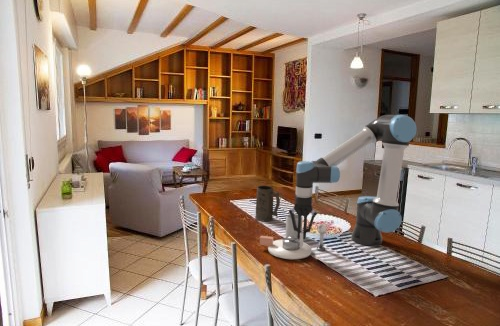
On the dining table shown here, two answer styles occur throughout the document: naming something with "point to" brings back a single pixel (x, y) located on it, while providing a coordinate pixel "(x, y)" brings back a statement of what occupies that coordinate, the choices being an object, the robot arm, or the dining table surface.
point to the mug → (290, 228)
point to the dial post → (321, 236)
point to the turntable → (279, 251)
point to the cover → (291, 243)
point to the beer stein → (266, 203)
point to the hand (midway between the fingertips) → (301, 245)
